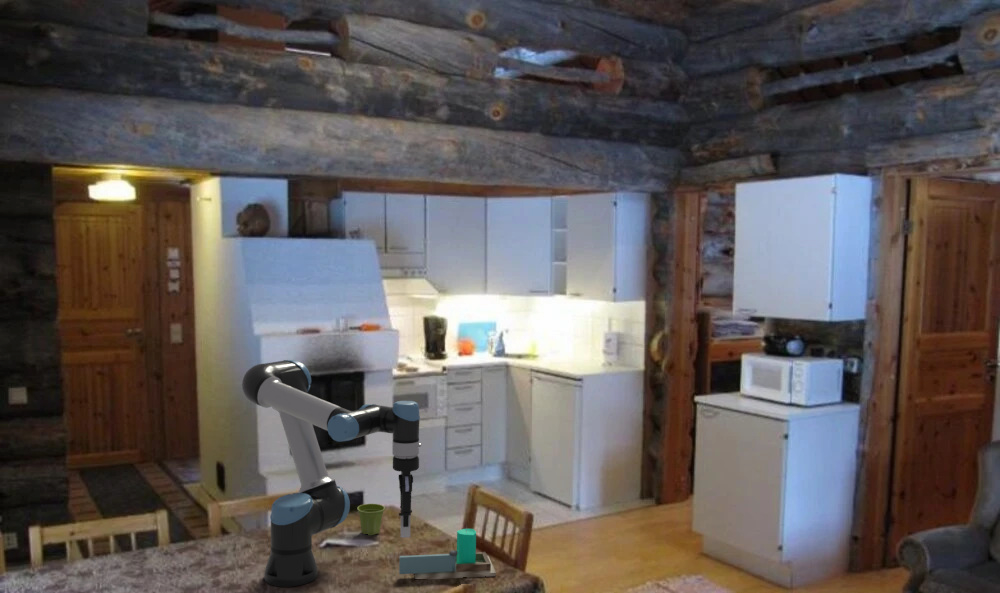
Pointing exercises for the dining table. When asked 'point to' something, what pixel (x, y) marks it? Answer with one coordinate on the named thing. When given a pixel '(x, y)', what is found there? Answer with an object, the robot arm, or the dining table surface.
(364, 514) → the plant pot
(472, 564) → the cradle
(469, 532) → the candle
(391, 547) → the dining table surface
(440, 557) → the keeper
